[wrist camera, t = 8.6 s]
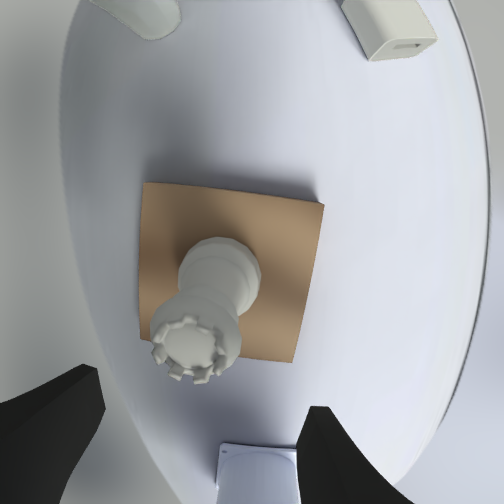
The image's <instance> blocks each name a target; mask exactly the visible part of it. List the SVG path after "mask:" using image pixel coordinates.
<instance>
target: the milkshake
mask: <svg viewBox="0 0 504 504" xmlns="http://www.w3.org/2000/svg"><path fill="white" fill-rule="evenodd" d="M89 1H90V2H92V3H93V4H95V5H97V6H98V7H100V8H102V9H104V10H106V11H107V12H108V13H110V14H111V15H112V16H114V17H115V18H117V19H118V20H119V21H121V22H122V23H123V24H124V25H126V26H127V27H128V28H130V29H131V30H132V31H134V32H135V33H136V34H138V35H139V36H141V37H142V38H144V39H145V40H154V39H161V38H163V37H165V36H166V35H168V34H170V33H172V32H173V31H174V30H175V29H176V27H177V26H178V24H179V23H180V21H181V14H180V8H179V5H178V3H177V0H89Z"/></svg>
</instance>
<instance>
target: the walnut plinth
mask: <svg viewBox="0 0 504 504" xmlns="http://www.w3.org/2000/svg"><path fill="white" fill-rule="evenodd" d="M323 211H324V204H322V203H319V202H313V201H307V200H301V199H295V198H288V197H281V196H274V195H267V194H260V193H252V192H245V191H237V190H229V189H220V188H211V187H202V186H192V185H182V184H171V183H159V182H145V183H143V194H142V207H141V222H140V245H139V317H140V339H143V340H147V341H151V338H150V321H151V319H152V317H153V315H154V313H155V310H156V309H157V308H158V307H159V306H160V305H162V304H163V303H164V302H166V301H167V300H168V299H170V298H173V297H174V295H176V294H177V293H178V292H180V291H179V288H178V273H179V267H180V265H181V263H182V261H183V259H184V258H185V256H186V255H187V253H188V251H189V250H190V249H191V248H192V247H193V246H195V245H196V244H197V243H198V242H200V241H201V240H205V239H209V238H213V237H224V238H231V239H234V240H236V241H238V242H239V243H241V244H243V245H245V246H246V247H248V249H249V250H250V251H251V252H252V254H253V255H254V256H255V258H256V259H257V261H258V264H259V268H260V272H261V281H260V287H259V291H258V296H257V297H256V299H255V300H254V302H253V304H252V305H251V307H250V308H249V309H248V310H247V311H246V312H244V313H243V314H241V315H240V316H238V317H239V321H238V328H239V331H240V334H241V337H242V343H241V350H240V354H239V356H238V357H243V358H251V359H259V360H268V361H277V362H288V363H292V361H293V357H294V353H295V349H296V345H297V341H298V337H299V332H300V328H301V324H302V319H303V315H304V310H305V306H306V301H307V296H308V292H309V287H310V282H311V277H312V272H313V267H314V261H315V256H316V251H317V245H318V240H319V234H320V228H321V223H322V217H323Z"/></svg>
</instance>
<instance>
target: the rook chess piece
mask: <svg viewBox="0 0 504 504" xmlns="http://www.w3.org/2000/svg"><path fill="white" fill-rule="evenodd" d="M260 281H261V272H260V268H259V264H258V261H257V259H256V258H255V256H254V255H253V254H252V252H251V251H250V250H249V249H248V247H246V246H245V245H243V244H241V243H239V242H238V241H236V240H234V239H231V238H224V237H213V238H209V239H205V240H201V241H200V242H198V243H197V244H196V245H195V246H193V247H192V248H191V249H190V250H189V251H188V253H187V255H186V256H185V258H184V259H183V261H182V263H181V265H180V267H179V273H178V288H179V291H180V292H178V293H177V294H176V295H174V297H173V298H170V299H168V300H167V301H166V302H164V303H163V304H162V305H160V306H159V307H158V308H157V309H156V310H155V313H154V315H153V317H152V319H151V321H150V338H151V341H152V343H153V345H154V349H153V351H152V352H151V353H152V356H153V358H154V360H155V362H156V364H157V365H158V364H161V363H164V361H165V362H166V363H167V364H168V365H169V366H170V367H171V368H170V370H169V372H168V374H167V375H168V376H170V377H172V378H174V379H176V380H178V381H181V378H182V376H183V374H187V375H192V376H193V381H194V384H202V383H208V381H209V377H210V375H212V374H216V375H217V376H220V375H221V373H222V372H223V371H224V370H225V369H227V368H229V367H230V366H232V364H233V363H234V361H235V360H236V359H237V357H238V356H239V354H240V350H241V343H242V337H241V334H240V331H239V328H238V321H239V317H238V316H240V315H241V314H243V313H244V312H246V311H247V310H248V309H249V308H250V307H251V305H252V304H253V302H254V300H255V299H256V297H257V296H258V291H259V287H260Z"/></svg>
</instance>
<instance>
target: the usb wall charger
mask: <svg viewBox="0 0 504 504" xmlns="http://www.w3.org/2000/svg"><path fill="white" fill-rule="evenodd" d="M341 8H342V10H343V12H344V13H345V15H346V17H347V19H348V21H349V22H350V24H351V26H352V28H353V30H354V32H355V34H356V36H357V37H358V39H359V41H360V43H361V45H362V47H363V50H364V52H365V54H366V56H367V58H368V60H369V61H370V62H375V61H383V60H392V59H402V58H411V57H414V56H417V55H419V54H420V53H421V52H423V51H424V50H426V49H427V48H428V47H430V46H431V45H433V44H434V43H436V42H437V41H438V40H439V39H438V37H437V35H436V33H435V31H434V29H433V28H432V26H431V24H430V22H429V20H428V19H427V17H426V15H425V13H424V12H423V10H422V8H421V7H420V5H419V3H418V2H417V0H344V2H343V4H342V6H341Z"/></svg>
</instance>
